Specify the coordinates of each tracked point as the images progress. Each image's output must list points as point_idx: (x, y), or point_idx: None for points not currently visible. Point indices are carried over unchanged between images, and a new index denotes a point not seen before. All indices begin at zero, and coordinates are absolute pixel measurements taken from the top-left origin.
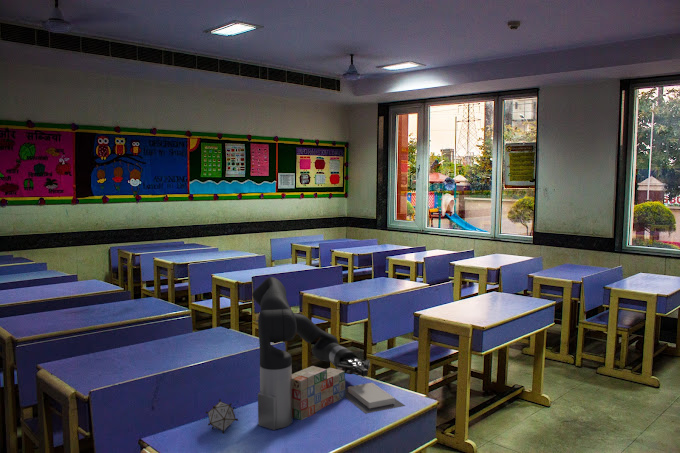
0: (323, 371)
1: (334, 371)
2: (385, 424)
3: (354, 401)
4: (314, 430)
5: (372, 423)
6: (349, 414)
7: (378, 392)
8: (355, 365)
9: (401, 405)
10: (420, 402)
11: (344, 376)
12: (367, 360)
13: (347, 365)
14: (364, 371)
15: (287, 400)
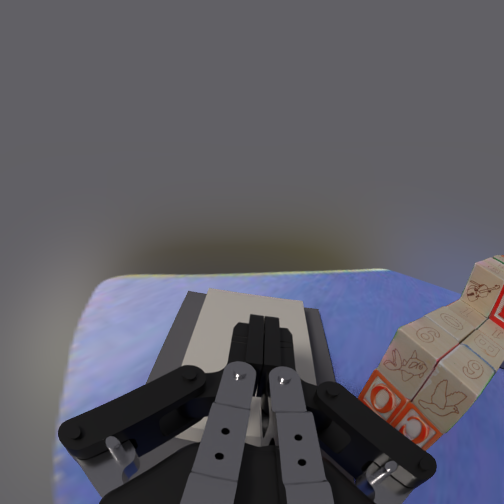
0: (479, 262)
1: (448, 339)
2: (291, 275)
3: (321, 374)
4: (431, 309)
5: (315, 287)
6: (356, 330)
7: (225, 332)
8: (286, 400)
9: (196, 295)
10: (130, 290)
11: (387, 351)
12: (84, 433)
13: (355, 428)
14: (268, 318)
15: None
